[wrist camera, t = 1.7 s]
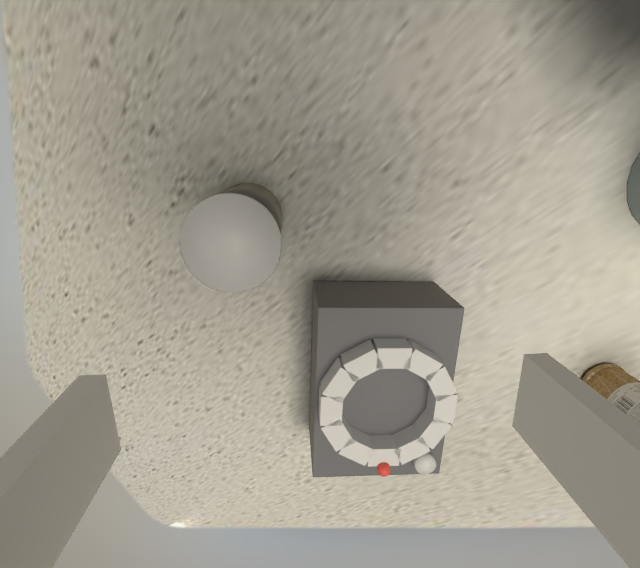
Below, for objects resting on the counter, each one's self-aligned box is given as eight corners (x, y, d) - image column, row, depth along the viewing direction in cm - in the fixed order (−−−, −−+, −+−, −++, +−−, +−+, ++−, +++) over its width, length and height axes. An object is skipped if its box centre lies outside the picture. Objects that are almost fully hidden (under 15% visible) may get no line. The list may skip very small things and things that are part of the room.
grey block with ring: (313, 280, 32) (320, 320, 24) (433, 281, 33) (478, 320, 25) (309, 426, 36) (314, 499, 28) (415, 424, 37) (449, 494, 29)
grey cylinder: (212, 181, 29) (175, 192, 19) (283, 183, 29) (281, 195, 20) (216, 252, 31) (183, 294, 21) (283, 253, 31) (281, 295, 21)
